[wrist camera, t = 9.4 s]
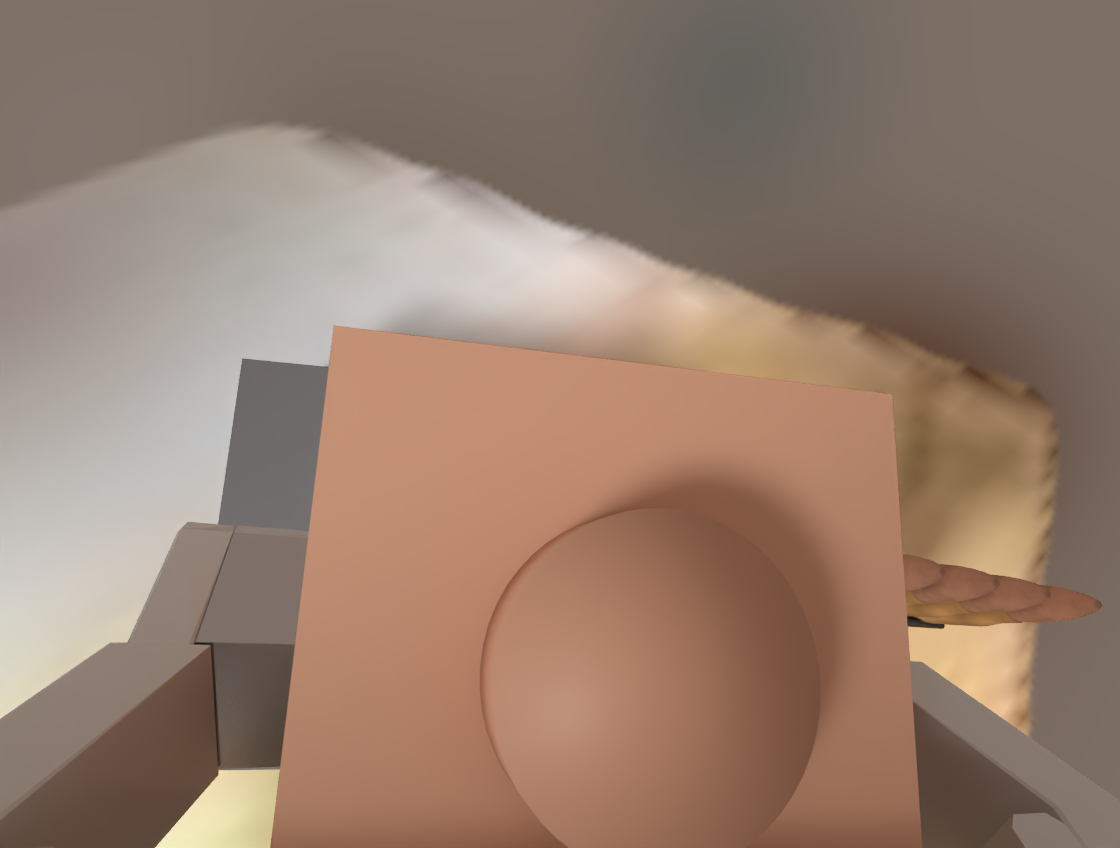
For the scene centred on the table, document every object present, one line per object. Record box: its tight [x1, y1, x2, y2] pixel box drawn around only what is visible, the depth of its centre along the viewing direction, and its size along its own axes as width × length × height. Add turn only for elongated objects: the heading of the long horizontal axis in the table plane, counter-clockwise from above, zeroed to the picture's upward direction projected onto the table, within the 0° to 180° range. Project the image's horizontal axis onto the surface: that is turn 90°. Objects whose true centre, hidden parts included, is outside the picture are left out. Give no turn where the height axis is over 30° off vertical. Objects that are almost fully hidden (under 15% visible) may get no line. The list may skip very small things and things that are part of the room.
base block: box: [218, 359, 329, 770], centre depth 25 cm, size 12×12×6 cm
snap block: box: [270, 326, 922, 848], centre depth 9 cm, size 5×5×9 cm
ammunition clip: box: [903, 555, 1102, 629], centre depth 26 cm, size 11×2×12 cm, turn 79°
